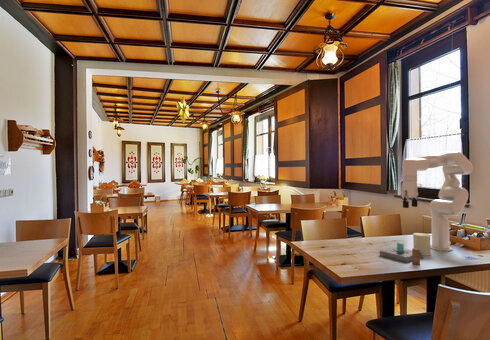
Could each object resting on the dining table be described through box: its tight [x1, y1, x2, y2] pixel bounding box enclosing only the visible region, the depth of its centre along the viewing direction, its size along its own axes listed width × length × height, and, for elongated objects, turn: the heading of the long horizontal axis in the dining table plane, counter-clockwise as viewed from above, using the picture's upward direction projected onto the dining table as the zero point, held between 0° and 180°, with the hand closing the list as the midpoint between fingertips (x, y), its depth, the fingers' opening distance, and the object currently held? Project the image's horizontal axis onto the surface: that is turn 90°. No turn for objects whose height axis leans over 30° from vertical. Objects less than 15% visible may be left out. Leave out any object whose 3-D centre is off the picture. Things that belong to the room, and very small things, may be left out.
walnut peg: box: [411, 247, 421, 266], centre depth 156 cm, size 4×4×8 cm
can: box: [412, 232, 432, 256], centre depth 177 cm, size 9×9×12 cm
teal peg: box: [396, 242, 405, 253], centre depth 170 cm, size 4×4×8 cm
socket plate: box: [379, 246, 423, 264], centre depth 170 cm, size 16×16×3 cm
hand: (410, 207), depth 176 cm, fingers open, 9 cm apart
